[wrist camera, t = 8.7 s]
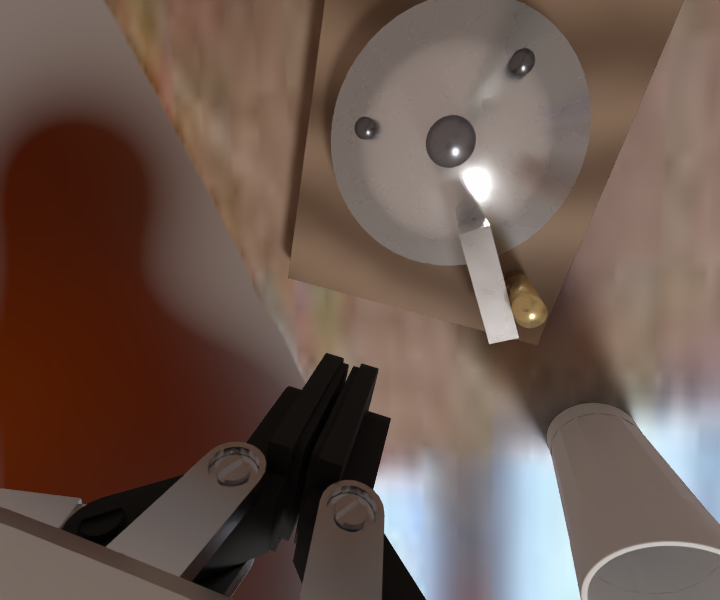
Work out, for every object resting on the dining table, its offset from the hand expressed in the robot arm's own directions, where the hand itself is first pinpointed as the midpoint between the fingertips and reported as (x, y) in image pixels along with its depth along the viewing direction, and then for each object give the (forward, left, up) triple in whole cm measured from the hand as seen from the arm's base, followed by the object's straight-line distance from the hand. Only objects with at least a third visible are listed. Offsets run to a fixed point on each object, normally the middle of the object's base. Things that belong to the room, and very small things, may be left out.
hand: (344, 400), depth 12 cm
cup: (+10, +17, -18) cm, 27 cm away
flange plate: (-6, +2, -16) cm, 17 cm away
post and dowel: (-5, +4, -16) cm, 17 cm away
